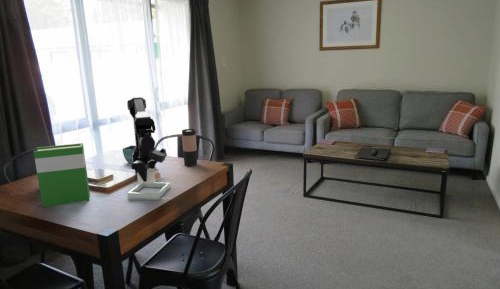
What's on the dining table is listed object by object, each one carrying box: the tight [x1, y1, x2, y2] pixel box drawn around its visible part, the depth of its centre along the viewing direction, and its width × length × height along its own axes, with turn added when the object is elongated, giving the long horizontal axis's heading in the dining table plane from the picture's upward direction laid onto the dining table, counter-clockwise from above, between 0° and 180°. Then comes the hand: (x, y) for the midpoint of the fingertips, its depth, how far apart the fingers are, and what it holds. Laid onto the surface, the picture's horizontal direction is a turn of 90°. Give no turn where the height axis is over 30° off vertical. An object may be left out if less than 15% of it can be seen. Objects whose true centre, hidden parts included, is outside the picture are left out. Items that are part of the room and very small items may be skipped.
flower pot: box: [122, 144, 135, 164], centre depth 209 cm, size 9×9×9 cm
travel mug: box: [181, 128, 198, 167], centre depth 201 cm, size 8×8×20 cm
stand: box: [155, 166, 170, 183], centre depth 174 cm, size 10×10×7 cm
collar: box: [136, 168, 162, 184], centre depth 158 cm, size 7×9×4 cm
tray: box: [127, 182, 171, 201], centre depth 160 cm, size 14×14×3 cm
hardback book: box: [33, 142, 91, 208], centre depth 152 cm, size 18×7×24 cm, turn 111°
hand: (148, 178), depth 159 cm, fingers closed on collar, 7 cm apart
